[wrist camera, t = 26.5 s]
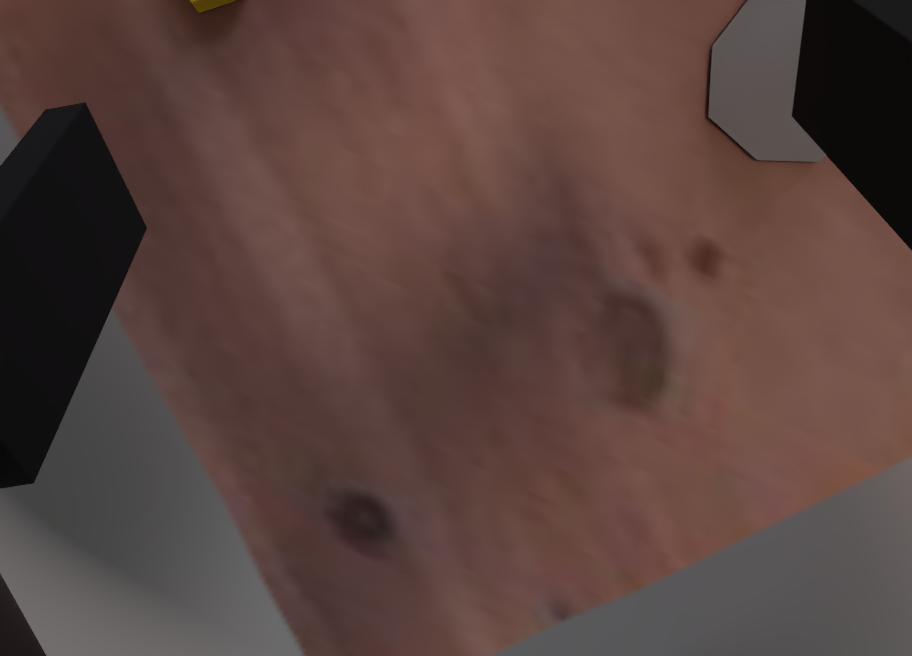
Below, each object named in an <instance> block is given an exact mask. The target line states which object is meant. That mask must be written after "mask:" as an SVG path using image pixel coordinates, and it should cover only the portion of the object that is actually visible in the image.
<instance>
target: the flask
mask: <svg viewBox="0 0 912 656" xmlns="http://www.w3.org/2000/svg"><path fill="white" fill-rule="evenodd" d="M805 5H806V0H747V2H746V3H745V4H744V6H743V7H742V8H741V9H740V11H739V12H738V13H737V15H736V16H735V17H734V19H733V20H732V21H731V22H730V24H729V25H728V26H727V28H726V29H725V30H724V31H723V33H722V34H721V35H720V37H719V38H718V39H717V41H716V42H715V43H714V44H713V46H712V61H711V78H710V96H709V113H708V117H709V118H710V119H711V120H713V121H714V122H715V123H716V124H717V125H718V126H719V127H720V128H722V129H723V130H724V131H725V132H726V133H727V134H728V135H729V136H731V137H732V138H733V139H734V140H735V141H736V142H737V143H738V144H739V145H741V146H742V147H743V148H744V149H745V150H746V151H747V152H748V153H750V154H751V155H752V156H753V157H754V158H755V159H756V160H770V161H800V162H820V161H821V160H822V159H823V158H825V157H826V156H827V155H826V154H825V153H824V152H823V151H822V150H821V149H820V147H819V146H818V145H817V144H816V143H815V142H814V141H813V140H812V139H811V137H810V136H809V135H808V134H807V133H806V132H805V131H804V130H803V128H802V127H801V126H800V125H799V124H798V123H797V122H796V121H795V120H794V118H793V117H792V109H793V101H794V93H795V85H796V77H797V69H798V61H799V53H800V45H801V37H802V29H803V21H804V13H805Z"/></svg>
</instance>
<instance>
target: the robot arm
mask: <svg viewBox="0 0 912 656" xmlns="http://www.w3.org/2000/svg"><path fill="white" fill-rule="evenodd" d="M792 117H793V118H794V120H795V121H796V122H797V123H798V124H799V125H800V126H801V127H802V128H803V130H804V131H805V132H806V133H807V134H808V135H809V136H810V137H811V139H812V140H813V141H814V142H815V143H816V144H817V145H818V146H819V147H820V149H821V150H822V151H823V152H824V153H825V154H826V155H827V156H828V157H829V159H830V160H831V161H832V162H833V163H834V164H835V165H836V166H837V168H838V169H839V170H840V171H841V172H842V173H843V174H844V175H845V176H846V178H847V179H848V180H849V181H850V182H851V183H852V184H853V185H854V186H855V188H856V189H857V190H858V191H859V192H860V193H861V194H862V195H863V197H864V198H865V199H866V200H867V201H868V202H869V203H870V204H871V205H872V207H873V208H874V209H875V210H876V211H877V212H878V213H879V214H880V216H881V217H882V218H883V219H884V220H885V221H886V222H887V223H888V224H889V226H890V227H891V228H892V229H893V230H894V231H895V232H896V233H897V234H898V236H899V237H900V238H901V239H902V240H903V241H904V242H905V243H906V245H907V246H908V247H909V248H910V249H911V250H912V0H806V5H805V13H804V21H803V29H802V37H801V45H800V53H799V61H798V69H797V77H796V85H795V93H794V101H793V109H792ZM146 229H147V227H146V225H145V223H144V221H143V219H142V217H141V215H140V213H139V211H138V209H137V207H136V205H135V202H134V200H133V198H132V196H131V194H130V192H129V190H128V188H127V186H126V184H125V182H124V180H123V178H122V176H121V174H120V172H119V170H118V168H117V166H116V164H115V162H114V160H113V158H112V156H111V154H110V152H109V149H108V147H107V145H106V143H105V141H104V139H103V137H102V135H101V133H100V131H99V129H98V127H97V125H96V123H95V121H94V119H93V117H92V115H91V113H90V111H89V109H88V107H87V105H86V103H79V104H74V105H68V106H63V107H57V108H52V109H46V110H45V111H44V112H43V113H42V115H41V116H40V117H39V118H38V120H37V121H36V122H35V123H34V125H33V126H32V127H31V128H30V130H29V131H28V132H27V133H26V135H25V136H24V137H23V138H22V140H21V141H20V142H19V143H18V145H17V146H16V147H15V149H14V150H13V151H12V152H11V153H10V155H9V156H8V157H7V159H6V160H5V161H4V162H3V164H2V165H1V166H0V488H6V487H12V486H19V485H25V484H32V483H34V481H35V479H36V477H37V475H38V472H39V470H40V468H41V466H42V463H43V461H44V459H45V457H46V454H47V452H48V450H49V448H50V445H51V443H52V441H53V438H54V436H55V434H56V432H57V430H58V427H59V425H60V423H61V421H62V418H63V416H64V414H65V412H66V409H67V407H68V405H69V403H70V400H71V398H72V396H73V394H74V391H75V389H76V387H77V385H78V382H79V380H80V378H81V375H82V373H83V371H84V369H85V366H86V364H87V362H88V359H89V357H90V355H91V353H92V351H93V348H94V346H95V344H96V342H97V339H98V337H99V335H100V333H101V330H102V328H103V326H104V324H105V321H106V319H107V317H108V315H109V312H110V310H111V308H112V306H113V303H114V301H115V299H116V297H117V294H118V292H119V290H120V288H121V285H122V283H123V281H124V279H125V276H126V274H127V272H128V270H129V267H130V265H131V263H132V261H133V258H134V256H135V254H136V252H137V249H138V247H139V245H140V243H141V240H142V238H143V236H144V234H145V231H146ZM0 656H46V654H45V653H44V651H43V649H42V647H41V645H40V644H39V642H38V640H37V638H36V637H35V635H34V633H33V631H32V629H31V628H30V626H29V624H28V622H27V621H26V619H25V617H24V615H23V613H22V612H21V610H20V608H19V606H18V604H17V603H16V601H15V599H14V597H13V595H12V594H11V592H10V590H9V588H8V587H7V585H6V583H5V581H4V579H3V578H2V576H1V574H0Z"/></svg>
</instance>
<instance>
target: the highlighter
mask: <svg viewBox="0 0 912 656" xmlns="http://www.w3.org/2000/svg"><path fill="white" fill-rule="evenodd" d="M234 1H237V0H190V2H191V3H192V5H193V6H194V7H195V9H196V10H197V12H198V13H201V12H204V11H207V10H210V9H213V8H216V7H219V6H222V5H225V4H228V3H231V2H234Z"/></svg>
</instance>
